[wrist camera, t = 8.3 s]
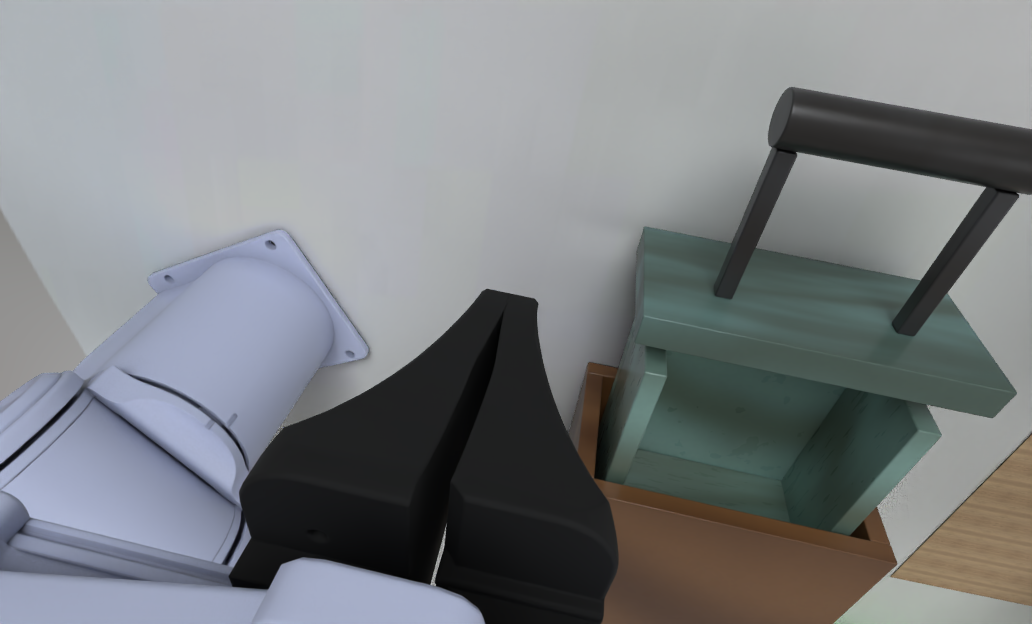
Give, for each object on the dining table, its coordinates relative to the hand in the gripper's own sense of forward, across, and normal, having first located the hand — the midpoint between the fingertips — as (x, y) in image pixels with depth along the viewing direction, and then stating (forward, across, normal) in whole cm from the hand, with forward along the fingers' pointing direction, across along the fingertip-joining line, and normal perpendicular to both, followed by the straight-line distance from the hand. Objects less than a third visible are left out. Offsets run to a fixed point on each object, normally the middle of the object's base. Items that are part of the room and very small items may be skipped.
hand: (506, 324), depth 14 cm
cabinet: (+10, -10, +17) cm, 22 cm away
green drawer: (+9, -10, +4) cm, 14 cm away
